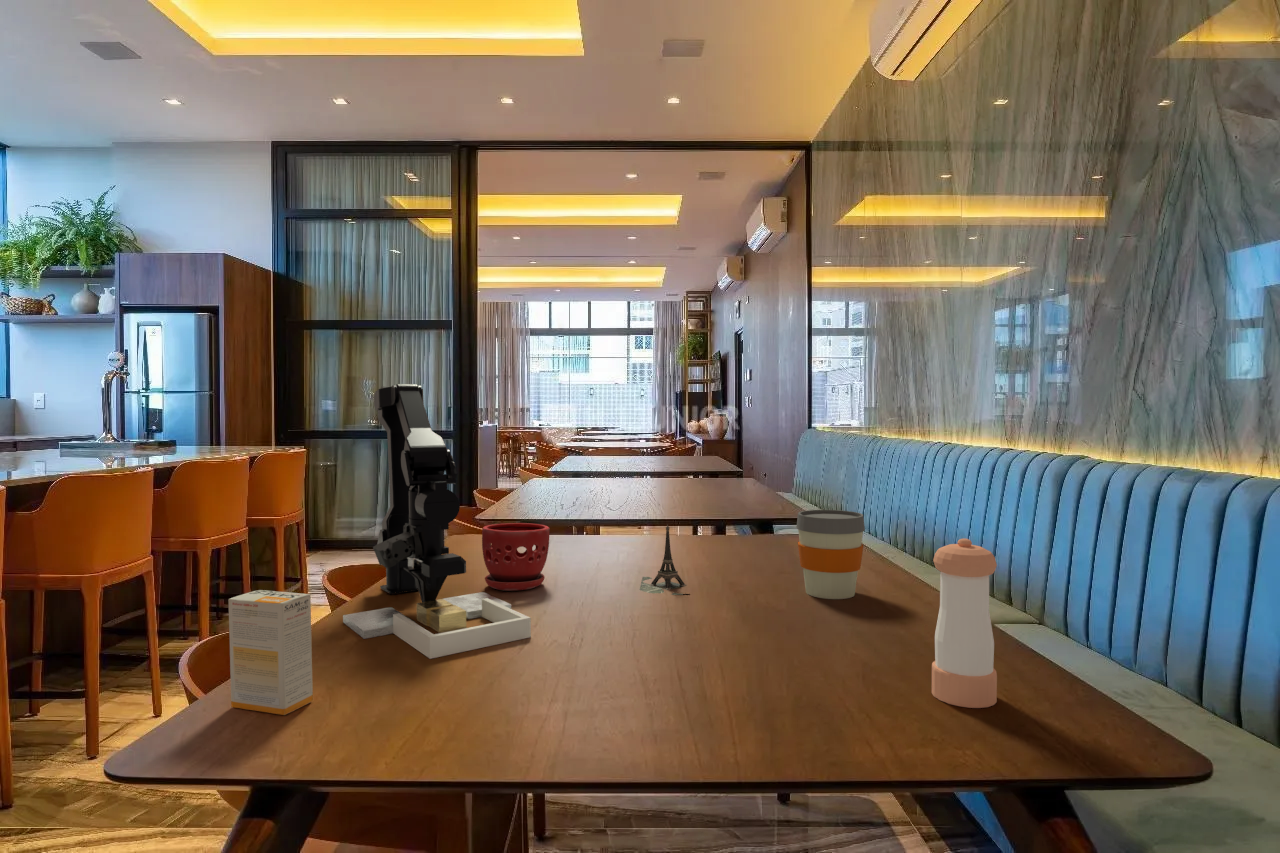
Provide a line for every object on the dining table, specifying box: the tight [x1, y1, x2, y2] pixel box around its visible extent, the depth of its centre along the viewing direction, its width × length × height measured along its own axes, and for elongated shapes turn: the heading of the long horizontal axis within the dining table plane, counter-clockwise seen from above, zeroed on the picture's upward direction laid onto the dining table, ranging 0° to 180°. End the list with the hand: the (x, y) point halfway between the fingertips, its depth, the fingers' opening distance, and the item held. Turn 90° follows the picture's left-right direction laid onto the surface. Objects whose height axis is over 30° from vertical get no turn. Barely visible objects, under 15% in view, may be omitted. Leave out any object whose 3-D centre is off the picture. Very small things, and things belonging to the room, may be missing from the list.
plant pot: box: [481, 522, 550, 592], centre depth 147 cm, size 13×13×12 cm
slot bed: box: [342, 591, 512, 639], centre depth 125 cm, size 11×25×1 cm, turn 127°
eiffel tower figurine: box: [639, 525, 687, 596], centre depth 147 cm, size 15×10×13 cm
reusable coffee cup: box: [795, 509, 866, 600], centre depth 140 cm, size 12×13×15 cm
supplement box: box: [228, 589, 314, 716], centre depth 88 cm, size 8×5×13 cm, turn 71°
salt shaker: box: [931, 538, 998, 709], centre depth 90 cm, size 7×7×19 cm
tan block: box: [416, 598, 453, 627], centre depth 123 cm, size 4×4×3 cm
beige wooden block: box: [428, 605, 467, 634], centre depth 119 cm, size 4×4×3 cm
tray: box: [392, 598, 532, 660], centre depth 115 cm, size 15×16×3 cm
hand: (427, 609), depth 126 cm, fingers closed
